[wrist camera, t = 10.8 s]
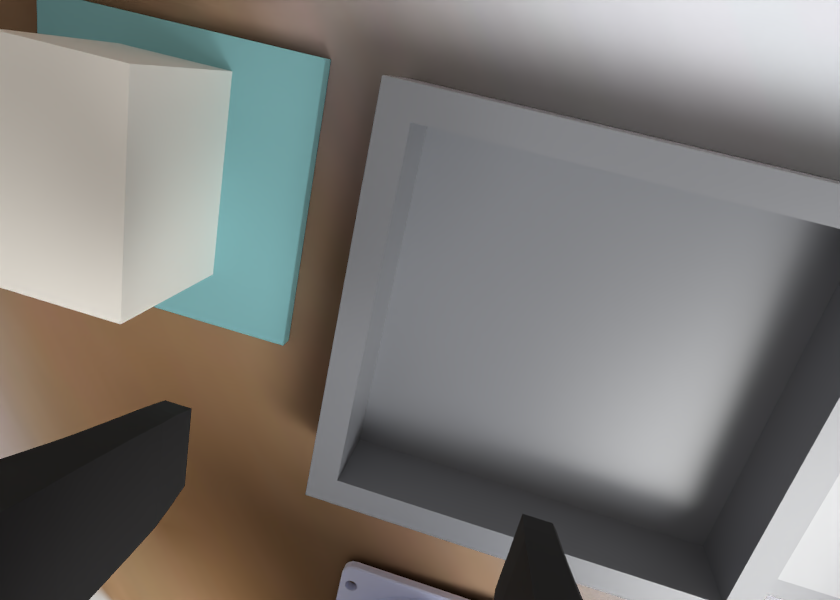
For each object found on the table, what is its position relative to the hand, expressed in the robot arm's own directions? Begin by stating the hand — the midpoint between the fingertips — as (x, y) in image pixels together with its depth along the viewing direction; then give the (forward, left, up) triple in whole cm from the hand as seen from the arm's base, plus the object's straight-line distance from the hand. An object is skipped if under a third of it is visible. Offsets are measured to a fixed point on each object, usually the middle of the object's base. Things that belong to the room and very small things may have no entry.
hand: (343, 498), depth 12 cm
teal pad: (+3, +10, -9) cm, 14 cm away
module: (+4, +10, -9) cm, 14 cm away
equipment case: (+1, -13, -9) cm, 16 cm away
